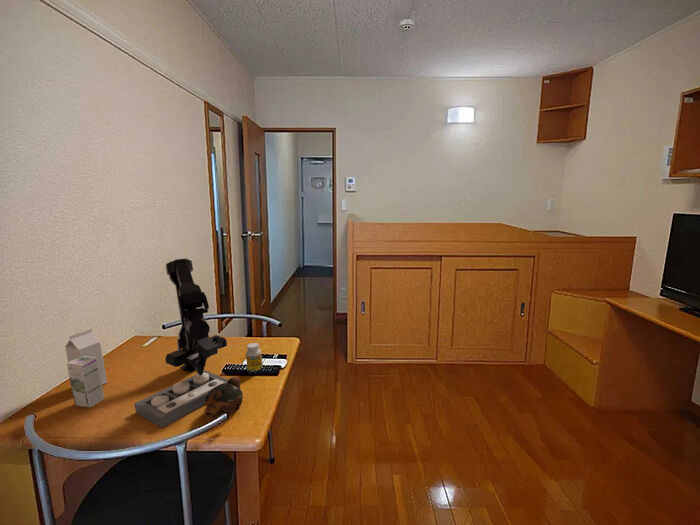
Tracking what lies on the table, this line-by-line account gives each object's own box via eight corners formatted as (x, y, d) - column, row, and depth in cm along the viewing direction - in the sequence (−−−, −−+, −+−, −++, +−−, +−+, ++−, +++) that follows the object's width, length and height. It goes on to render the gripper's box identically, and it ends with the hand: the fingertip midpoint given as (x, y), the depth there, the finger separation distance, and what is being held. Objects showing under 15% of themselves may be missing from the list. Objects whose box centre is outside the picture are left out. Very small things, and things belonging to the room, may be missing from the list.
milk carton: (107, 382, 137) (98, 330, 133) (86, 393, 131) (76, 338, 127) (94, 379, 140) (84, 327, 136) (72, 389, 134) (62, 335, 130)
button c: (190, 383, 129) (189, 377, 129) (203, 376, 133) (202, 371, 133) (199, 387, 127) (198, 381, 126) (212, 380, 130) (211, 374, 130)
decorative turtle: (252, 398, 124) (250, 374, 122) (227, 427, 109) (224, 400, 108) (224, 395, 126) (221, 372, 124) (195, 424, 111) (192, 397, 110)
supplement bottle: (259, 365, 145) (257, 340, 144) (265, 371, 141) (263, 345, 139) (245, 369, 143) (242, 344, 141) (250, 375, 138) (248, 349, 136)
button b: (170, 392, 124) (169, 386, 123) (184, 386, 128) (183, 380, 127) (179, 397, 121) (178, 390, 121) (193, 390, 125) (192, 384, 124)
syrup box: (105, 399, 126) (97, 356, 124) (88, 409, 121) (80, 364, 118) (91, 397, 128) (83, 354, 125) (74, 407, 122) (65, 362, 120)
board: (135, 412, 118) (134, 401, 117) (206, 378, 137) (205, 369, 136) (161, 427, 110) (160, 416, 109) (232, 389, 129) (231, 379, 128)
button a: (148, 407, 118) (147, 401, 118) (163, 399, 122) (163, 393, 122) (157, 412, 116) (156, 405, 115) (172, 404, 120) (171, 398, 119)
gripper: (182, 344, 114) (189, 394, 117) (235, 324, 129) (240, 369, 132) (161, 337, 121) (168, 384, 124) (214, 318, 135) (218, 361, 139)
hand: (200, 374), depth 129 cm, fingers closed
